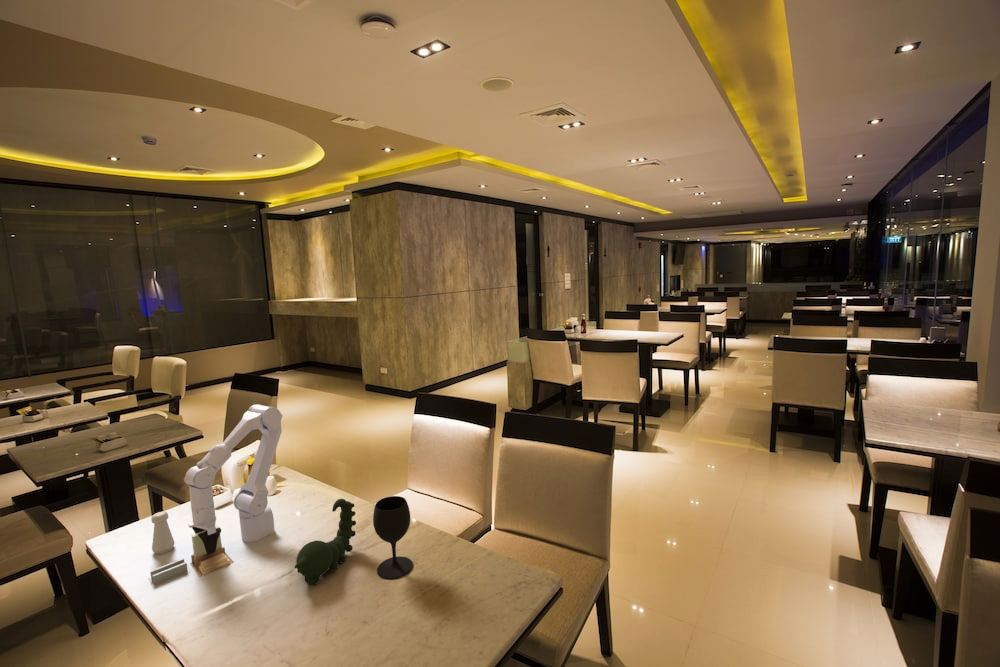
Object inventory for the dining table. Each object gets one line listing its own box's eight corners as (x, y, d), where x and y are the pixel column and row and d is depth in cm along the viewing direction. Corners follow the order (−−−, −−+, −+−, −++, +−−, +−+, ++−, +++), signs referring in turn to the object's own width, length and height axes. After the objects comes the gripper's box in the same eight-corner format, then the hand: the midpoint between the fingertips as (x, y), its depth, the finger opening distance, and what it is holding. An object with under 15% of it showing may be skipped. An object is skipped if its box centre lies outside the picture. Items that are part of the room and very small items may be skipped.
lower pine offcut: (225, 558, 141) (225, 555, 141) (229, 563, 138) (229, 560, 138) (199, 569, 136) (198, 565, 136) (203, 574, 133) (202, 571, 133)
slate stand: (185, 566, 139) (184, 555, 138) (190, 574, 135) (189, 563, 134) (148, 581, 132) (147, 570, 132) (153, 590, 128) (151, 579, 128)
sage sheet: (220, 552, 144) (217, 525, 143) (222, 554, 143) (219, 527, 142) (194, 563, 139) (191, 535, 138) (196, 565, 138) (193, 537, 137)
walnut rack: (223, 552, 145) (222, 542, 145) (234, 564, 139) (233, 554, 138) (190, 565, 139) (188, 555, 139) (199, 579, 132) (198, 568, 132)
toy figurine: (338, 550, 147) (280, 595, 124) (337, 491, 147) (279, 525, 123) (364, 554, 145) (310, 600, 121) (363, 494, 144) (309, 529, 120)
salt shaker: (163, 558, 143) (158, 519, 142) (148, 557, 144) (142, 517, 143) (179, 547, 149) (175, 509, 147) (165, 546, 150) (160, 508, 148)
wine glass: (420, 562, 137) (416, 498, 135) (398, 583, 128) (394, 515, 125) (391, 554, 141) (387, 492, 139) (369, 574, 132) (364, 508, 130)
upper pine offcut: (223, 556, 140) (223, 552, 140) (227, 560, 138) (227, 557, 138) (200, 565, 136) (200, 562, 136) (204, 570, 134) (204, 567, 133)
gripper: (180, 503, 141) (185, 545, 142) (194, 518, 131) (199, 563, 132) (207, 494, 146) (211, 535, 147) (221, 509, 136) (226, 552, 138)
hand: (207, 548), depth 140 cm, fingers open, 7 cm apart
